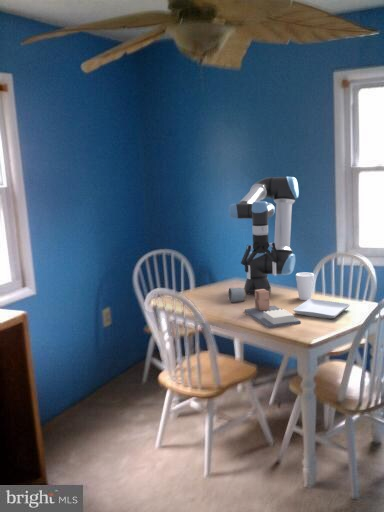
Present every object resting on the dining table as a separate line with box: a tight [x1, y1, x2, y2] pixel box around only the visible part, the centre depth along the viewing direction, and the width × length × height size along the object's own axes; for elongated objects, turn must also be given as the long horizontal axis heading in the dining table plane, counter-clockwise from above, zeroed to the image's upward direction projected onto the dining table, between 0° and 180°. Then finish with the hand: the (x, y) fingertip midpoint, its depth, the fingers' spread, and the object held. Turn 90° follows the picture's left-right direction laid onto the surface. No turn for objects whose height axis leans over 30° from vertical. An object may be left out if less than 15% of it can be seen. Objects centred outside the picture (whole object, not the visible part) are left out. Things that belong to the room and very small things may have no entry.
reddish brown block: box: [254, 289, 270, 311], centre depth 260 cm, size 6×5×9 cm
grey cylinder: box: [227, 287, 247, 303], centre depth 283 cm, size 11×8×8 cm
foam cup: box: [295, 271, 315, 301], centre depth 280 cm, size 10×9×13 cm
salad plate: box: [292, 298, 351, 319], centre depth 255 cm, size 21×21×3 cm
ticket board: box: [243, 304, 302, 329], centre depth 251 cm, size 28×16×4 cm, turn 16°
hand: (261, 277), depth 259 cm, fingers open, 13 cm apart
